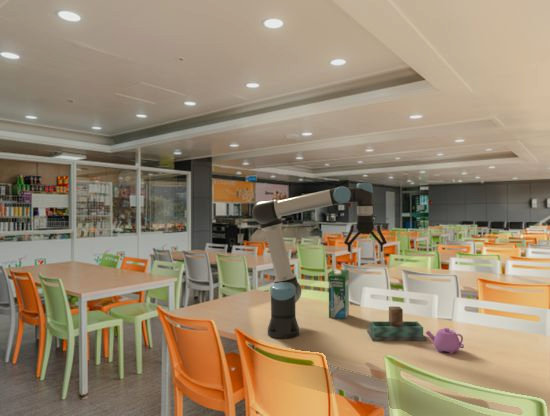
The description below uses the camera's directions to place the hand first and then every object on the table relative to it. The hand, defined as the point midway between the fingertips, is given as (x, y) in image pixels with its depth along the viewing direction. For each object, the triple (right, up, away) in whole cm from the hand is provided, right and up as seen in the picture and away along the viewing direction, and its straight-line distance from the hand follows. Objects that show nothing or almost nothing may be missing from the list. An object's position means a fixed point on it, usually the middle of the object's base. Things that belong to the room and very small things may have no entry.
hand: (365, 258), depth 199 cm
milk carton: (-9, -35, +25) cm, 44 cm away
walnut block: (+12, -34, -10) cm, 37 cm away
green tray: (+12, -35, -10) cm, 38 cm away
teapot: (+27, -35, -28) cm, 52 cm away
